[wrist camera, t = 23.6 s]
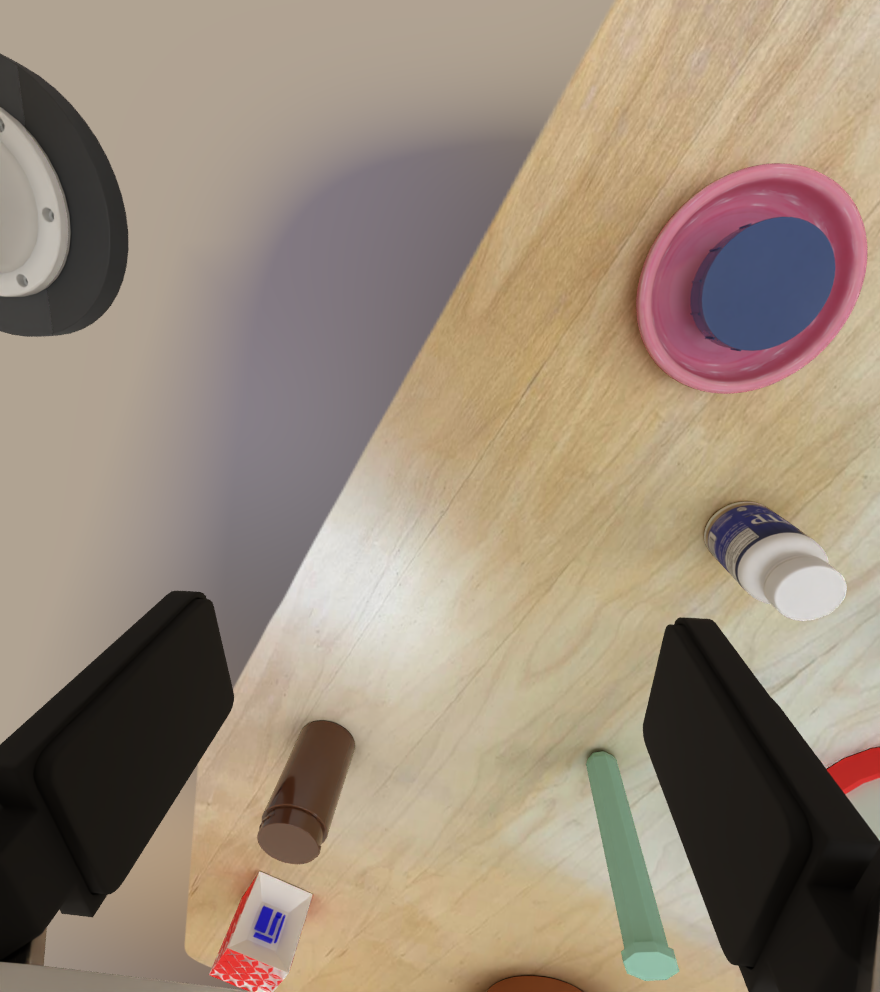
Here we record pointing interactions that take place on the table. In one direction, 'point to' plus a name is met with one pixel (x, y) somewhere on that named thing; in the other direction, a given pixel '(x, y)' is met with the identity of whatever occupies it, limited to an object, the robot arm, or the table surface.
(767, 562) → the pill bottle
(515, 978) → the potted plant
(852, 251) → the saucer
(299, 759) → the jar
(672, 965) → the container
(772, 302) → the lid
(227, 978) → the red open cube
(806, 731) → the table surface
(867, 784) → the container
